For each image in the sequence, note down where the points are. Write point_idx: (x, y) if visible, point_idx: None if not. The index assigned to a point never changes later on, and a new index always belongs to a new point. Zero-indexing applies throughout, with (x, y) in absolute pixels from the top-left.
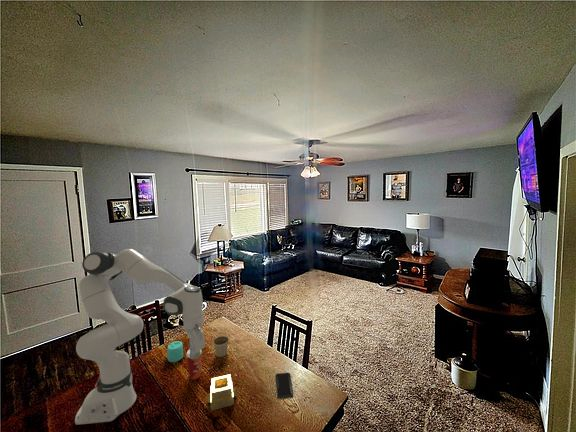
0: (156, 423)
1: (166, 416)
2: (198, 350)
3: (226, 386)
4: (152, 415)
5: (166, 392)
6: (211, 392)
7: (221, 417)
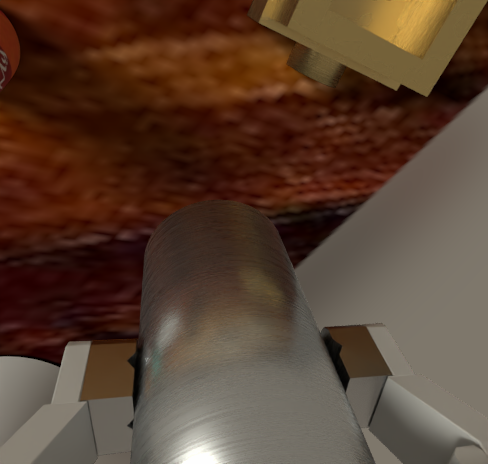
0: None
1: None
2: (388, 349)
3: None
4: None
5: (56, 242)
6: (424, 93)
7: None
